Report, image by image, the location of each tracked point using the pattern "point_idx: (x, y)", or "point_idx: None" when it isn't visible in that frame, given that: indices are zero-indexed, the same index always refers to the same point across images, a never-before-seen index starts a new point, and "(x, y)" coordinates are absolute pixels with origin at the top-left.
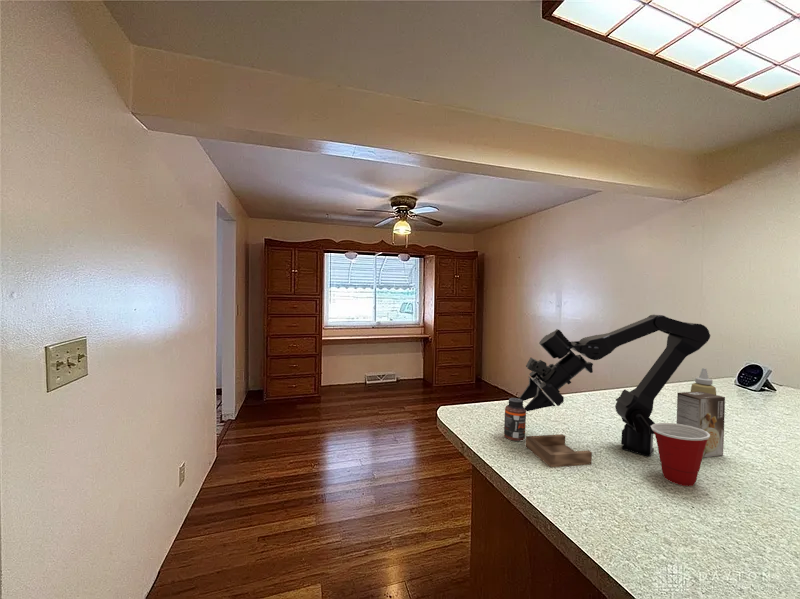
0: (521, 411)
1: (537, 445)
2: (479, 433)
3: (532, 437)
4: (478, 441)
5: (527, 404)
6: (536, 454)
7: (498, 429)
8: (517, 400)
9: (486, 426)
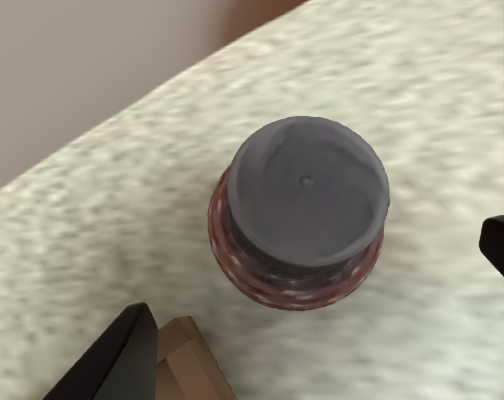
0: (226, 271)
1: None
2: (254, 119)
3: (171, 359)
4: (171, 130)
5: (117, 341)
6: None
7: None
8: (285, 202)
9: None
